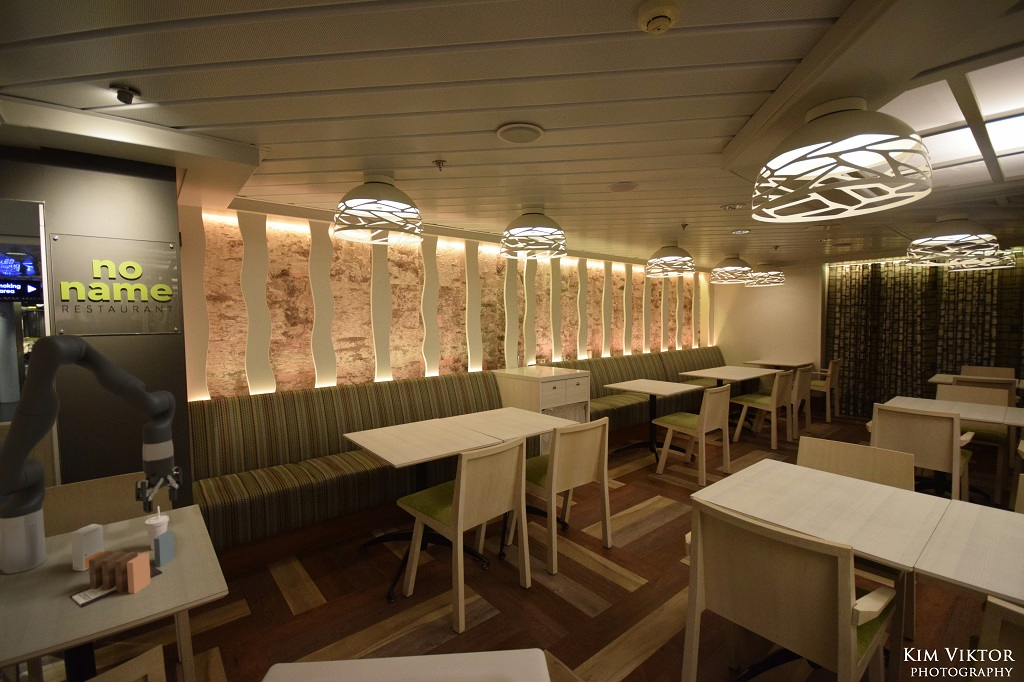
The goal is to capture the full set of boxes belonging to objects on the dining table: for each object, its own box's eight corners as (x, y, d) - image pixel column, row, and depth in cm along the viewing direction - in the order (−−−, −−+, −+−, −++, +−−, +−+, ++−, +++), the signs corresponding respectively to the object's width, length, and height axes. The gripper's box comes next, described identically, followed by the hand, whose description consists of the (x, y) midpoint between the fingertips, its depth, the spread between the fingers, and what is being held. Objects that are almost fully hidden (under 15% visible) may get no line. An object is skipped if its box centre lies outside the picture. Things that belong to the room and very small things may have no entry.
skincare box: (83, 571, 136) (81, 533, 135) (72, 570, 137) (70, 532, 136) (105, 561, 142) (103, 524, 141) (94, 559, 142) (92, 523, 142)
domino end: (128, 593, 125) (126, 562, 125) (144, 582, 130) (143, 552, 130) (134, 593, 125) (132, 562, 124) (150, 583, 130) (148, 553, 129)
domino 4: (155, 566, 139) (153, 538, 138) (169, 557, 144) (167, 530, 143) (160, 566, 138) (159, 538, 138) (174, 558, 143) (172, 530, 143)
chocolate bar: (161, 571, 135) (82, 605, 119) (162, 574, 135) (82, 608, 119) (148, 563, 139) (70, 595, 124) (148, 566, 139) (70, 598, 124)
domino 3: (116, 592, 126) (115, 561, 125) (132, 581, 131) (132, 551, 130) (121, 592, 126) (120, 561, 125) (138, 581, 131) (137, 552, 130)
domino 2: (103, 591, 126) (101, 560, 126) (120, 580, 131) (118, 551, 131) (109, 591, 126) (107, 561, 125) (126, 581, 131) (124, 551, 130)
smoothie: (173, 545, 151) (171, 505, 150) (150, 554, 145) (148, 512, 145) (165, 540, 154) (163, 501, 153) (142, 548, 149) (140, 508, 148)
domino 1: (90, 590, 126) (88, 560, 126) (108, 580, 131) (106, 550, 131) (96, 591, 126) (94, 560, 126) (113, 580, 131) (111, 551, 131)
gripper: (167, 448, 146) (170, 496, 147) (125, 462, 132) (128, 516, 133) (188, 448, 145) (190, 497, 146) (148, 463, 131) (151, 517, 132)
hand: (161, 506), depth 139 cm, fingers open, 8 cm apart
